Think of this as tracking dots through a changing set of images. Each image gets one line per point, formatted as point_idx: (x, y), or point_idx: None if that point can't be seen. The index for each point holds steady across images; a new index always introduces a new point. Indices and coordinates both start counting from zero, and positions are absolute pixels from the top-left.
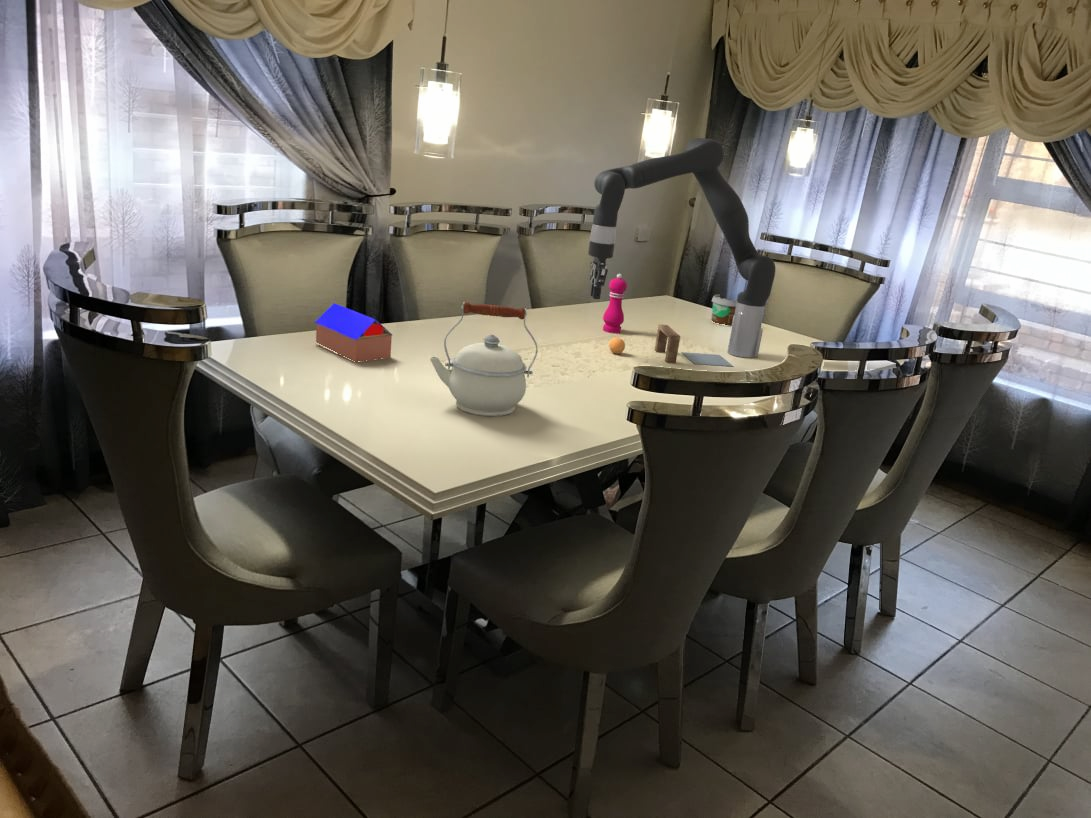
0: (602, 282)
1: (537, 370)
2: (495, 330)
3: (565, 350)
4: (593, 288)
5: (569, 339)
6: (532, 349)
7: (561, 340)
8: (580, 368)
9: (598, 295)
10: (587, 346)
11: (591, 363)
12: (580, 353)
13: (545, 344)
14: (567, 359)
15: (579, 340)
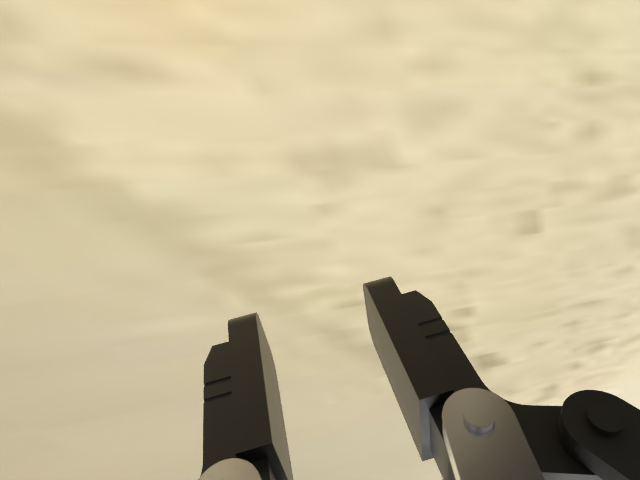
0: (636, 464)
1: (581, 264)
2: (127, 452)
3: (289, 217)
4: (281, 432)
5: (45, 223)
6: (333, 319)
7: (102, 253)
8: (552, 136)
9: (434, 317)
10: (139, 122)
11: (472, 91)
12: (312, 150)
13: (230, 297)
14: (433, 195)
15: (22, 173)
